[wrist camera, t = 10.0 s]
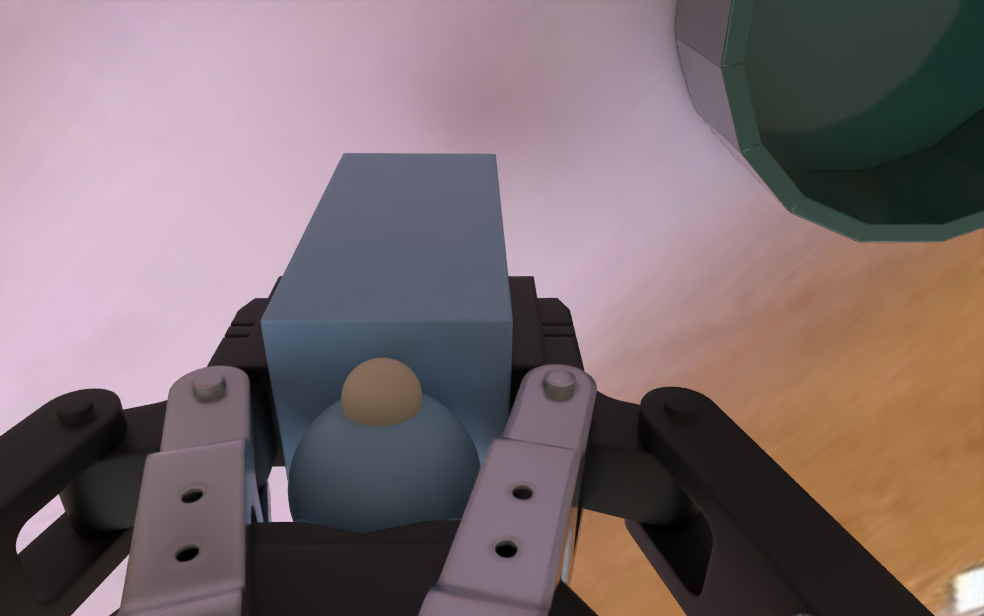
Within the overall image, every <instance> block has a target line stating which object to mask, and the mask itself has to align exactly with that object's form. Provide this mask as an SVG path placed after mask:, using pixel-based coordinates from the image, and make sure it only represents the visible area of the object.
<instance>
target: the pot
mask: <svg viewBox="0 0 984 616" xmlns="http://www.w3.org/2000/svg"><path fill="white" fill-rule="evenodd" d="M676 36H677V37H676V40H677V48H678V53H679V58H680V64H681V69H682V73H683V76H684V79H685V82H686V85H687V88H688V91H689V94H690V96H691V98H692V102H693V106H694V109H695V110H696V112H697V113H698V114H699V115H700V117H701V118H702V119H703V120H704V121H705V123H706V124H707V125H708V126H709V128H710V129H711V131H712V132H713V133H714V134H715V135H716V136H717V137H718V138H719V139H720V141H721V142H722V143H723V144H724V145H725V147H726V148H727V149H728V150H729V152H730V153H731V154H732V155H733V156H734V158H735V159H736V160H737V161H738V162H739V163H740V164H741V165H742V166H743V167H744V168H745V169H746V170H747V171H748V172H749V173H750V174H751V175H752V176H753V177H754V178H755V179H756V180H757V181H758V182H759V183H760V184H761V185H762V186H763V187H764V188H765V189H766V190H767V191H768V192H769V193H770V194H771V195H772V196H773V197H774V198H775V199H776V200H777V201H778V202H779V203H780V204H781V205H782V206H783V207H784V208H785V209H787V210H788V211H789V212H790V213H792V214H794V215H796V216H799V217H801V218H803V219H806V220H808V221H810V222H813V223H815V224H817V225H820V226H822V227H824V228H827V229H829V230H831V231H834V232H836V233H838V234H840V235H843V236H845V237H847V238H850V239H852V240H854V241H857V242H941V241H942V242H943V241H946V240H949V239H952V238H955V237H958V236H961V235H964V234H967V233H970V232H973V231H976V230H979V229H982V228H984V0H677V10H676Z"/></svg>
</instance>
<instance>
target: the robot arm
mask: <svg viewBox="0 0 984 616" xmlns="http://www.w3.org/2000/svg"><path fill="white" fill-rule="evenodd" d="M282 277H283V276H280V277H279V278H278V280H277V282H276V284H275V286H274V288H273V290H272V292H271V294H270V296H269V297H268V298H255V299H253V300H252V301H251V302H249V303H248V304H246V305H245V306H244V307H242V308H241V309H240V310H238V312H237V314H236V316H235V318H234V319H233V321H232V323H231V327H229V328H228V330H227V332H226V334H225V338H223V339H222V341H221V342H220V344H219V346H218V348H217V350H216V351H215V353H214V355H213V357H212V359H211V360H210V362H209V364H208V366H207V367H206V368H202V369H198V370H195V371H193V372H190V373H188V374H186V375H184V376H183V377H181V378H180V379H178V380H177V381H176V382H175V383H174V384H173V385H172V387H171V388H170V391H169V395H168V400H166V401H163V402H159V403H154V404H150V405H144V406H139V407H134V408H129V409H124V410H123V408H122V404H121V401H120V399H119V397H118V396H117V395H116V394H115V393H114V392H112V391H109V390H105V389H84V390H78V391H74V392H70V393H67V394H64V395H62V396H59V397H57V398H55V399H53V400H51V401H49V402H48V403H46V404H45V405H43V406H42V407H40V408H39V409H38V410H36V411H35V412H33V413H32V414H31V415H29V416H28V417H26V418H25V419H24V420H22V421H21V422H19V423H18V424H17V425H15V426H14V427H12V428H11V429H10V430H8V431H7V432H5V433H4V434H3V435H1V436H0V616H71V615H72V614H73V613H74V612H75V611H76V609H77V608H78V607H79V606H80V605H81V604H82V603H83V602H84V601H85V600H86V599H87V598H88V597H89V596H90V595H91V594H92V593H93V592H94V590H95V589H96V588H97V587H98V586H99V585H100V584H101V583H102V582H103V581H104V580H105V579H106V578H107V577H108V576H109V575H110V574H111V572H112V571H113V570H114V569H115V568H116V567H117V566H118V565H119V564H120V563H121V562H122V561H123V560H124V559H125V558H126V557H127V556H128V555H129V559H128V565H127V571H126V577H125V583H124V588H123V594H122V600H121V605H120V608H119V609H117V610H116V611H115V612H113V613H112V614H111V615H109V616H598V615H597V614H596V613H595V612H594V611H593V610H592V609H591V608H590V607H589V606H588V605H587V604H586V603H585V602H584V601H583V600H582V599H581V598H580V597H579V596H578V595H577V594H576V593H575V592H574V591H573V590H572V589H571V588H570V586H571V579H572V573H573V567H574V561H575V556H576V550H577V545H578V539H579V533H580V528H581V522H582V517H583V511H584V509H588V510H592V511H596V512H600V513H604V514H608V515H612V516H616V517H620V518H624V520H625V525H626V528H627V529H628V531H629V533H630V534H631V536H632V537H633V539H634V540H635V541H636V543H637V544H638V546H639V547H640V549H641V550H642V552H643V553H644V554H645V556H646V557H647V559H648V560H649V562H650V563H651V565H652V566H653V567H654V569H655V570H656V572H657V573H658V575H659V576H660V578H661V579H662V581H663V582H664V583H665V585H666V586H667V588H668V589H669V591H670V592H671V594H672V595H673V596H674V598H675V599H676V601H677V602H678V604H679V605H680V607H681V608H682V609H683V611H684V612H685V614H686V615H687V616H934V615H933V614H932V613H931V612H930V611H929V610H928V609H927V608H926V607H925V606H924V605H923V604H922V603H921V602H920V601H919V600H918V599H917V598H916V597H915V596H914V595H913V594H912V593H910V592H909V591H908V590H907V589H906V588H905V587H904V586H903V585H902V584H901V583H900V582H899V581H898V580H897V579H896V578H895V577H894V576H893V575H892V574H891V573H890V572H889V571H888V570H887V569H886V568H885V567H884V566H883V565H882V564H880V563H879V562H878V561H877V560H876V559H875V558H874V557H873V556H872V555H871V554H870V553H869V552H868V551H867V550H866V549H865V548H864V547H863V546H862V545H861V544H860V543H859V542H858V541H857V540H856V539H855V538H854V537H853V536H852V535H850V534H849V533H848V532H847V531H846V530H845V529H844V528H843V527H842V526H841V525H840V524H839V523H838V522H837V521H836V520H835V519H834V518H833V517H832V516H831V515H830V514H829V513H828V512H827V511H826V510H825V509H824V508H823V507H822V506H821V505H819V504H818V503H817V502H816V501H815V500H814V499H813V498H812V497H811V496H810V495H809V494H808V493H807V492H806V491H805V490H804V489H803V488H802V487H801V486H800V485H799V484H798V483H797V482H796V481H795V480H794V479H793V478H792V477H791V476H789V475H788V474H787V473H786V472H785V471H784V470H783V469H782V468H781V467H780V466H779V465H778V464H777V463H776V462H775V461H774V460H773V459H772V458H771V457H770V456H769V455H768V454H767V453H766V452H765V451H764V450H763V449H762V448H761V447H759V446H758V445H757V444H756V443H755V442H754V441H753V440H752V439H751V438H750V437H749V436H748V435H747V434H746V433H745V432H744V431H743V430H742V429H741V428H740V427H739V426H738V425H737V424H736V423H735V422H734V421H733V420H732V419H731V418H730V417H728V416H727V415H726V414H725V413H724V412H723V411H722V410H721V409H720V408H719V407H718V406H717V405H716V404H715V403H714V402H713V401H712V400H710V399H709V398H708V397H706V396H705V395H703V394H701V393H699V392H696V391H694V390H691V389H687V388H681V387H661V388H657V389H654V390H652V391H650V392H648V393H647V394H645V396H644V397H643V398H642V400H641V405H638V404H634V403H629V402H624V401H620V400H616V399H613V398H610V397H608V396H606V395H604V394H602V393H600V392H599V391H597V386H596V383H595V381H594V379H593V378H592V377H591V376H590V375H589V374H588V373H586V372H585V371H584V367H583V363H582V359H581V354H580V350H579V346H578V342H577V338H576V334H575V330H574V326H573V321H572V317H571V313H570V310H569V309H568V308H567V307H566V306H565V305H564V304H563V303H562V302H561V301H560V300H559V299H558V298H537V294H536V288H535V282H534V277H533V276H508V279H509V289H510V298H511V308H512V318H513V331H512V364H511V396H510V416H509V419H508V422H507V425H506V427H505V430H504V433H503V436H502V437H500V436H494V437H493V438H492V440H491V442H490V445H489V447H488V450H487V453H486V455H485V458H484V461H483V463H482V466H481V469H480V471H479V474H478V477H477V479H476V482H475V485H474V487H473V490H472V493H471V495H470V498H469V501H468V503H467V506H466V509H465V511H464V514H463V517H462V519H461V520H427V521H422V522H417V523H412V524H408V525H403V526H398V527H393V528H389V529H384V530H379V531H374V532H369V533H357V532H352V531H347V530H342V529H337V528H332V527H327V526H322V525H317V524H312V523H307V522H272V521H271V499H270V489H269V483H268V477H269V475H270V472H271V469H272V467H275V466H285V462H284V456H283V450H282V445H281V439H280V433H279V427H278V421H277V415H276V410H275V404H274V398H273V392H272V386H271V380H270V374H269V369H268V363H267V357H266V351H265V345H264V339H263V334H262V328H261V319H262V317H263V315H264V313H265V311H266V309H267V307H268V305H269V303H270V301H271V299H272V297H273V295H274V293H275V291H276V289H277V287H278V285H279V283H280V281H281V279H282ZM58 494H59V496H60V499H61V501H62V504H63V506H64V509H65V513H64V514H62V515H61V516H60V517H59V518H58V519H57V520H56V521H55V522H54V523H52V524H51V525H50V526H49V527H48V528H47V529H46V530H45V531H43V532H42V533H41V534H40V535H39V536H38V537H37V538H36V539H35V540H33V541H32V542H31V543H30V544H29V545H28V546H27V547H26V548H24V549H23V550H22V551H21V552H20V553H19V554H18V555H17V552H16V541H17V537H18V534H19V532H20V530H21V529H22V527H23V526H24V524H25V523H26V522H27V521H28V520H29V519H30V518H31V517H32V516H34V515H35V514H36V513H37V512H38V511H39V510H41V509H42V508H43V507H44V506H45V505H46V504H48V503H49V502H50V501H51V500H52V499H53V498H54V497H56V496H57V495H58ZM129 553H130V554H129Z"/></svg>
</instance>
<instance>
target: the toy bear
mask: <svg viewBox="0 0 984 616" xmlns="http://www.w3.org/2000/svg"><path fill="white" fill-rule="evenodd" d="M261 328H262V334H263V339H264V345H265V351H266V357H267V363H268V369H269V374H270V380H271V386H272V392H273V398H274V404H275V410H276V415H277V421H278V427H279V433H280V439H281V445H282V450H283V456H284V462H285V468H286V474H287V480H288V500H289V507H290V512H291V516H292V519H293V522H307V523H312V524H317V525H322V526H327V527H332V528H337V529H342V530H347V531H352V532H357V533H369V532H374V531H379V530H384V529H389V528H393V527H398V526H403V525H408V524H412V523H417V522H422V521H427V520H461V519H462V517H463V514H464V511H465V509H466V506H467V503H468V501H469V498H470V495H471V493H472V490H473V487H474V485H475V482H476V479H477V477H478V474H479V471H480V469H481V466H482V463H483V461H484V458H485V455H486V453H487V450H488V447H489V445H490V442H491V440H492V438H493V437H494V436H500V437H502V436H503V433H504V430H505V427H506V425H507V422H508V419H509V416H510V396H511V364H512V331H513V318H512V308H511V298H510V289H509V279H508V269H507V259H506V250H505V240H504V230H503V220H502V211H501V201H500V191H499V181H498V172H497V162H496V155H495V154H396V153H344V154H343V155H342V157H341V159H340V161H339V163H338V166H337V168H336V170H335V172H334V174H333V176H332V178H331V180H330V182H329V184H328V186H327V188H326V190H325V192H324V194H323V196H322V198H321V200H320V202H319V204H318V206H317V208H316V210H315V212H314V214H313V216H312V218H311V220H310V222H309V224H308V226H307V228H306V230H305V232H304V234H303V236H302V238H301V240H300V242H299V244H298V246H297V248H296V250H295V252H294V254H293V256H292V258H291V260H290V262H289V264H288V266H287V268H286V270H285V273H284V275H283V277H282V279H281V281H280V283H279V285H278V287H277V289H276V291H275V293H274V295H273V297H272V299H271V301H270V303H269V305H268V307H267V309H266V311H265V313H264V315H263V317H262V319H261Z"/></svg>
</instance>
